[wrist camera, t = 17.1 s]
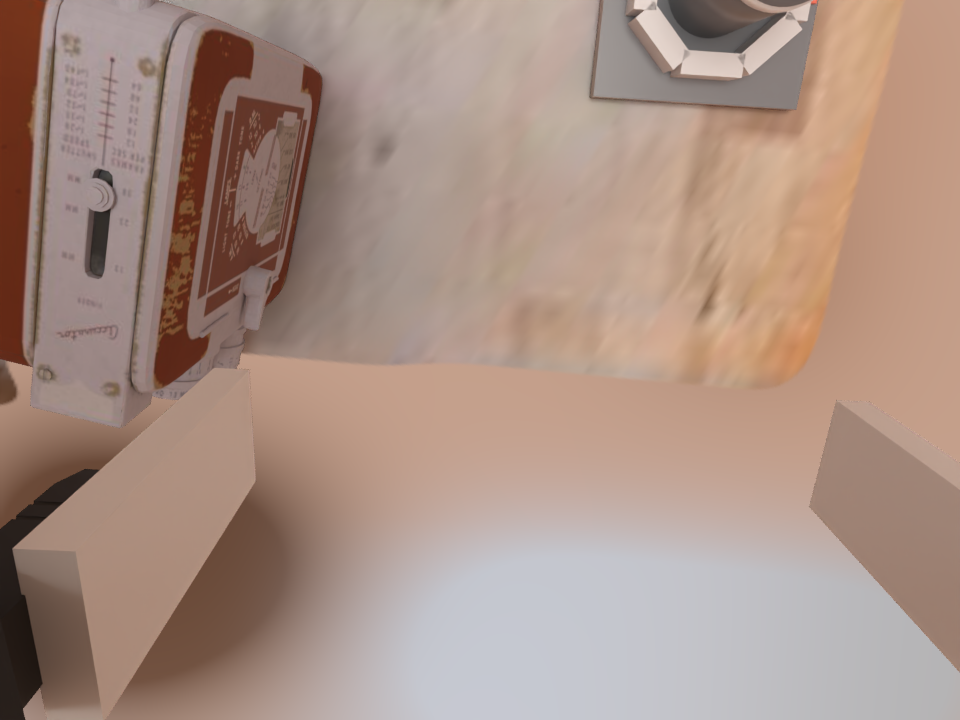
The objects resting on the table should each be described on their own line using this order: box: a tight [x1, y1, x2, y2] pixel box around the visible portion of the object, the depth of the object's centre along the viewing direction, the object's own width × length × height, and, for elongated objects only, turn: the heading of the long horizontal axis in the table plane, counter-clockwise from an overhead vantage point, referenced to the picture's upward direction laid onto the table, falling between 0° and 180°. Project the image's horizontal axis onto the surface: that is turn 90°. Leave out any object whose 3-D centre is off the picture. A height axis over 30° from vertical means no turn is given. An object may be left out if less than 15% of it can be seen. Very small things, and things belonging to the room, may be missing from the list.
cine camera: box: [0, 0, 322, 428], centre depth 32 cm, size 9×19×20 cm, turn 164°
